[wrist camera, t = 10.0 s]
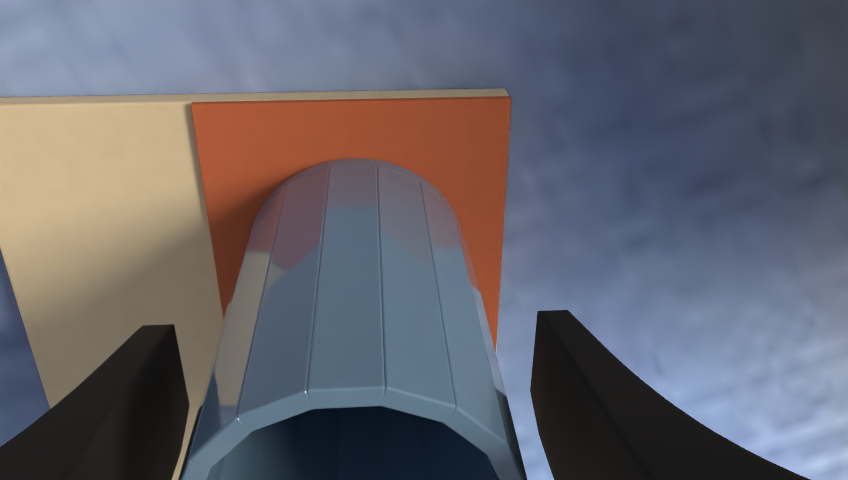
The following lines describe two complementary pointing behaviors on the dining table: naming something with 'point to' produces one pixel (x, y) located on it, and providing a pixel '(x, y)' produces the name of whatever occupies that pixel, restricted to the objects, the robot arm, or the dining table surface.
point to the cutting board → (205, 204)
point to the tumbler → (354, 342)
